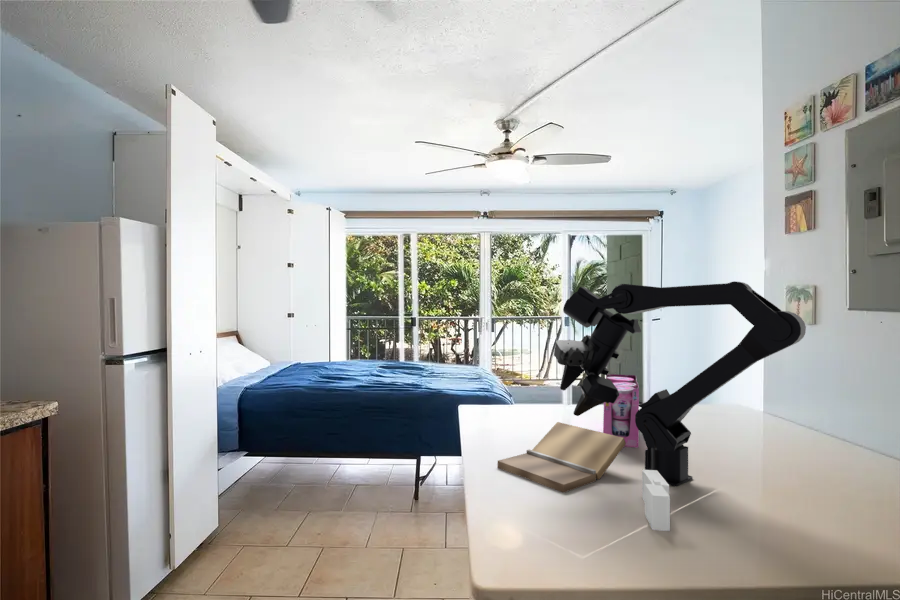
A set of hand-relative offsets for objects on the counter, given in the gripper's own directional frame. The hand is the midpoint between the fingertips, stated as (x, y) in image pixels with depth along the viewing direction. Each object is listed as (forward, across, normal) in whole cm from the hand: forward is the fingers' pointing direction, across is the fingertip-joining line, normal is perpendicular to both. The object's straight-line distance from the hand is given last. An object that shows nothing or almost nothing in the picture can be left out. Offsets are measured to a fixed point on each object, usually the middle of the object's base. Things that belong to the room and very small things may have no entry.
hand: (568, 401), depth 104 cm
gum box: (+10, -10, +24) cm, 27 cm away
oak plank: (+5, +9, +2) cm, 10 cm away
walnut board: (+8, +15, -6) cm, 18 cm away
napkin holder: (-2, +32, +2) cm, 32 cm away
